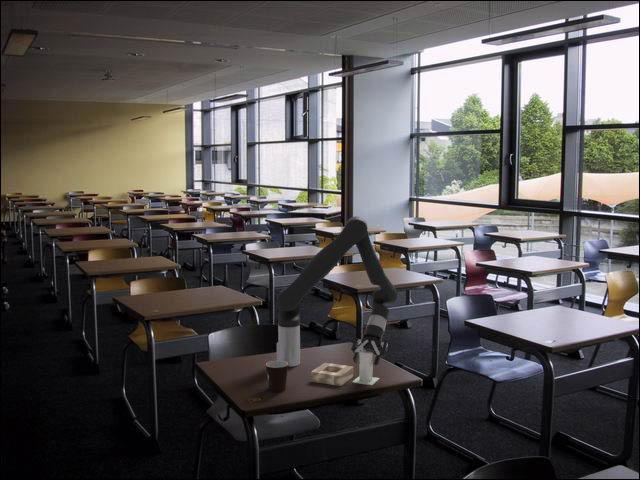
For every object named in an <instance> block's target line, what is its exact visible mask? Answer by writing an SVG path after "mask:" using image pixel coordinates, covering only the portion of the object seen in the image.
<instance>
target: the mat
mask: <svg viewBox="0 0 640 480" xmlns="http://www.w3.org/2000/svg"><path fill="white" fill-rule="evenodd" d="M379 380H380V377H376V376H375V377H373V376H372V381H370V382H362V381H360V380H359V376H357V377H356V378H355V379H354V380H353V381H351V382H352V383H354V384H360V385H365V386H366V385H367V386H373V385H374V384H375V383H377V382H378V381H379Z"/></svg>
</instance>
